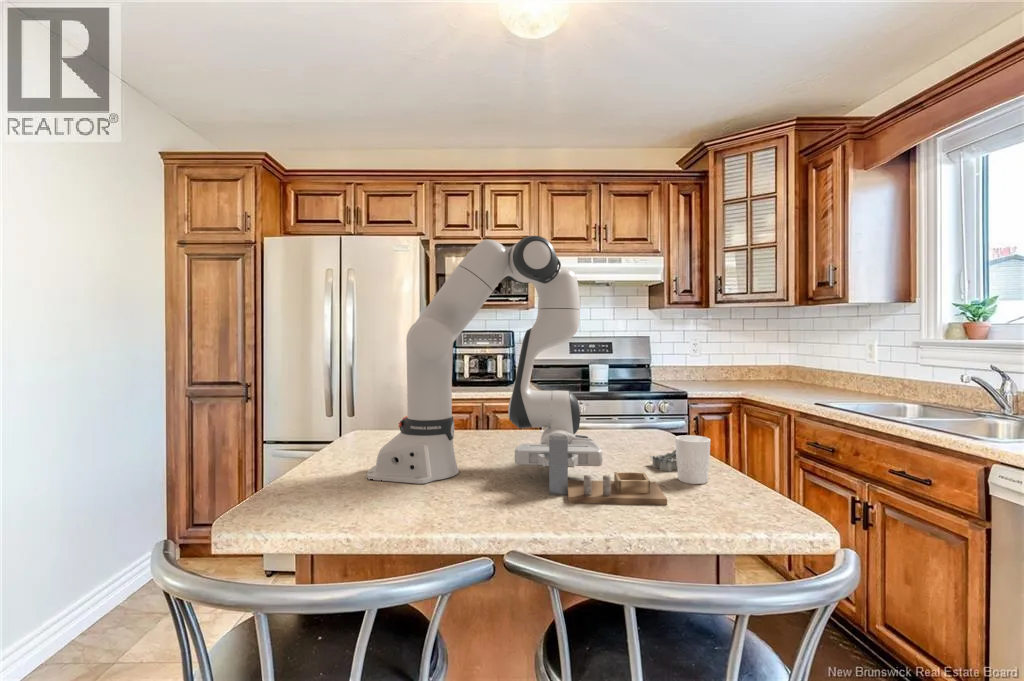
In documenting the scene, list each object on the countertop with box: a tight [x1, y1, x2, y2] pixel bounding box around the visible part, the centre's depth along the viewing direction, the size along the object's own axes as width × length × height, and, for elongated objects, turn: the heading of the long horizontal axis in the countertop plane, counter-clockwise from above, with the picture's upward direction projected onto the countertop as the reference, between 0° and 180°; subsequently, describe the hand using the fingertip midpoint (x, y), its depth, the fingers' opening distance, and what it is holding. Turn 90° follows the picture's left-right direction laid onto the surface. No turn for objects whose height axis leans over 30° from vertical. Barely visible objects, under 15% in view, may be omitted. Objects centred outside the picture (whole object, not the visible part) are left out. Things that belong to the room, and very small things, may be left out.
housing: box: [567, 471, 668, 506], centre depth 110 cm, size 20×12×5 cm, turn 86°
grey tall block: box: [548, 436, 569, 496], centre depth 112 cm, size 4×4×12 cm
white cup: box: [674, 434, 711, 485], centre depth 121 cm, size 8×8×10 cm
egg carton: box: [650, 449, 678, 472], centre depth 133 cm, size 11×8×4 cm
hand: (558, 463), depth 111 cm, fingers closed on grey tall block, 4 cm apart
